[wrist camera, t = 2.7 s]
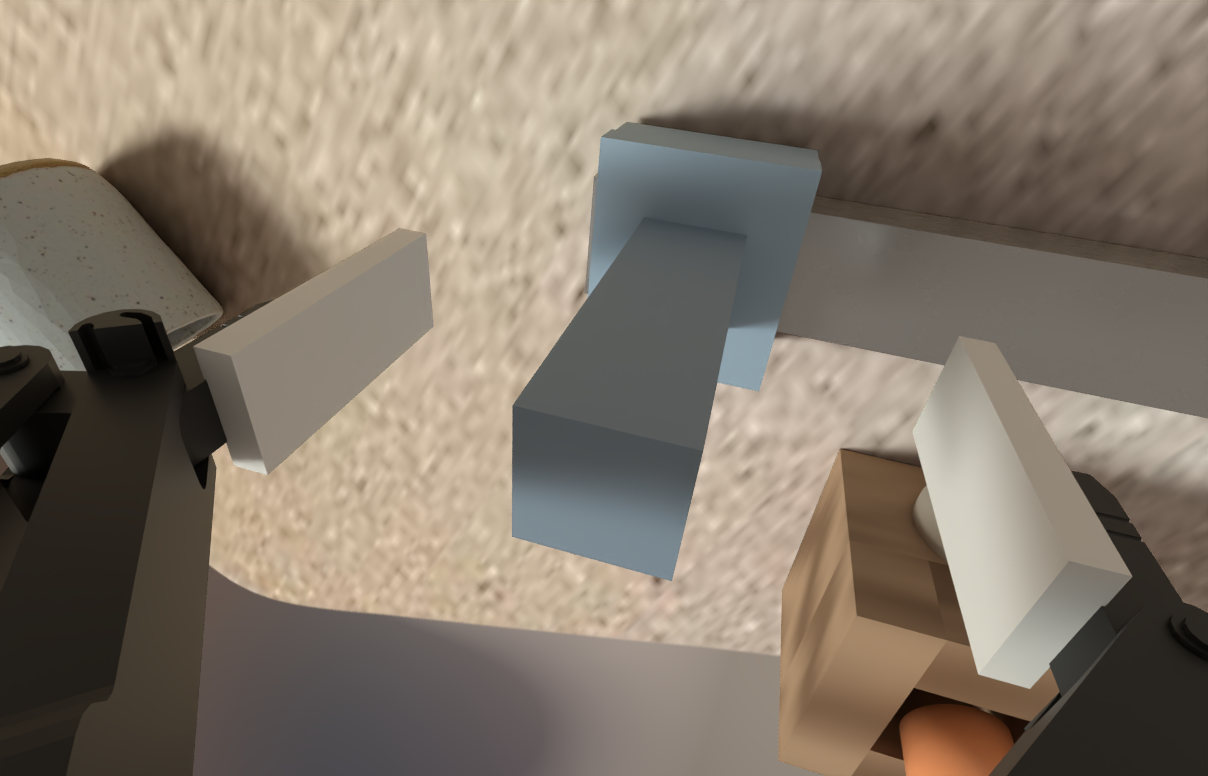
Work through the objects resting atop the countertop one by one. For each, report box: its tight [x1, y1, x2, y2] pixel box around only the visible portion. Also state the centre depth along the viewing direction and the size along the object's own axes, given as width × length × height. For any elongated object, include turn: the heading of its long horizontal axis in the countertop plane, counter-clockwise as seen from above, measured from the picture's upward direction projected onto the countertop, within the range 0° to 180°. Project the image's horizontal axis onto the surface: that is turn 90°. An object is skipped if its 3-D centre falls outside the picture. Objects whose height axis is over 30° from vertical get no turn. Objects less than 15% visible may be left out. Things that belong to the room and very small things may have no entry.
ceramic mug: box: [0, 158, 223, 371], centre depth 26 cm, size 11×8×8 cm
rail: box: [585, 174, 1208, 418], centre depth 19 cm, size 4×21×2 cm, turn 85°
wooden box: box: [778, 449, 1060, 776], centre depth 22 cm, size 10×9×8 cm
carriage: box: [512, 122, 822, 581], centre depth 15 cm, size 7×6×13 cm
